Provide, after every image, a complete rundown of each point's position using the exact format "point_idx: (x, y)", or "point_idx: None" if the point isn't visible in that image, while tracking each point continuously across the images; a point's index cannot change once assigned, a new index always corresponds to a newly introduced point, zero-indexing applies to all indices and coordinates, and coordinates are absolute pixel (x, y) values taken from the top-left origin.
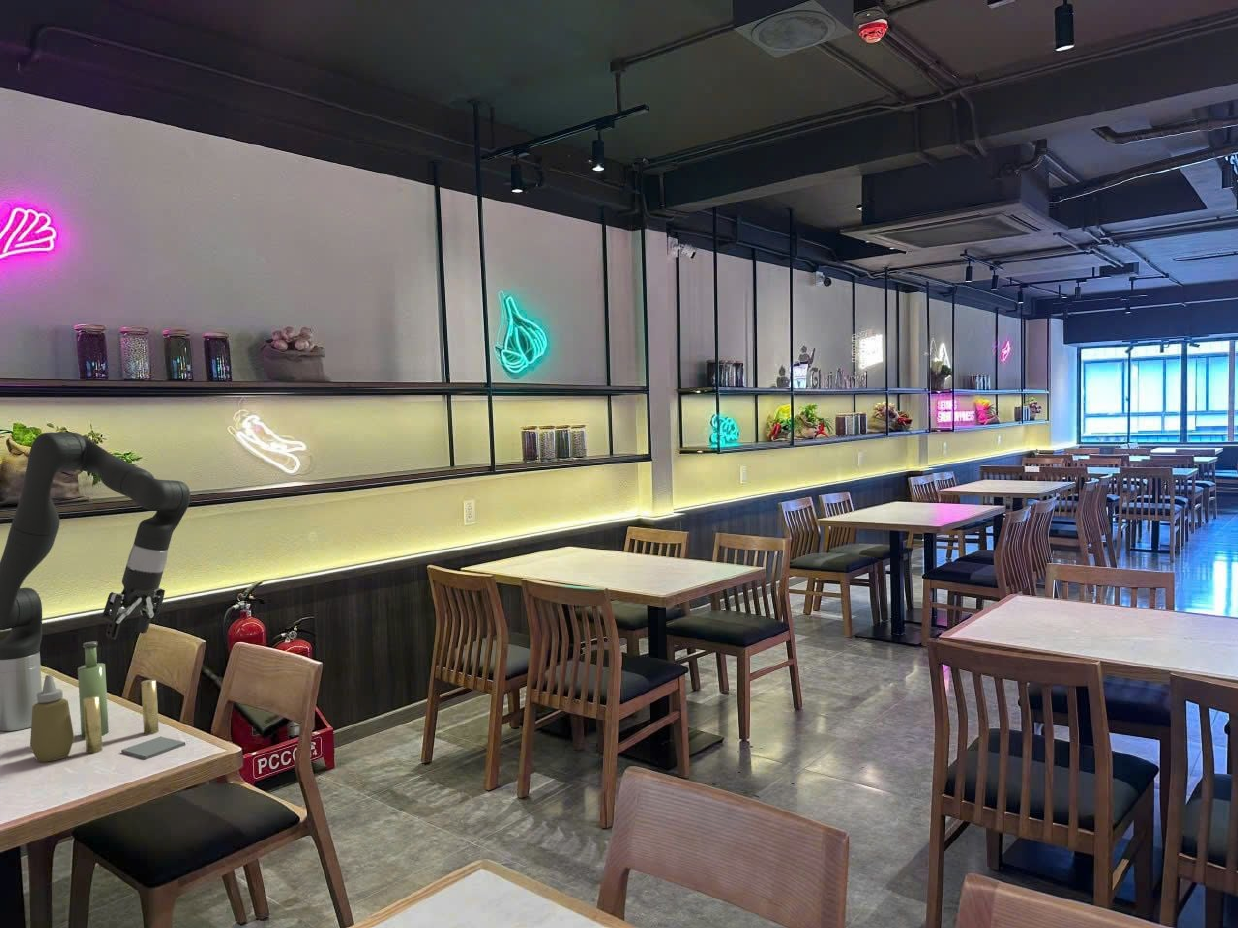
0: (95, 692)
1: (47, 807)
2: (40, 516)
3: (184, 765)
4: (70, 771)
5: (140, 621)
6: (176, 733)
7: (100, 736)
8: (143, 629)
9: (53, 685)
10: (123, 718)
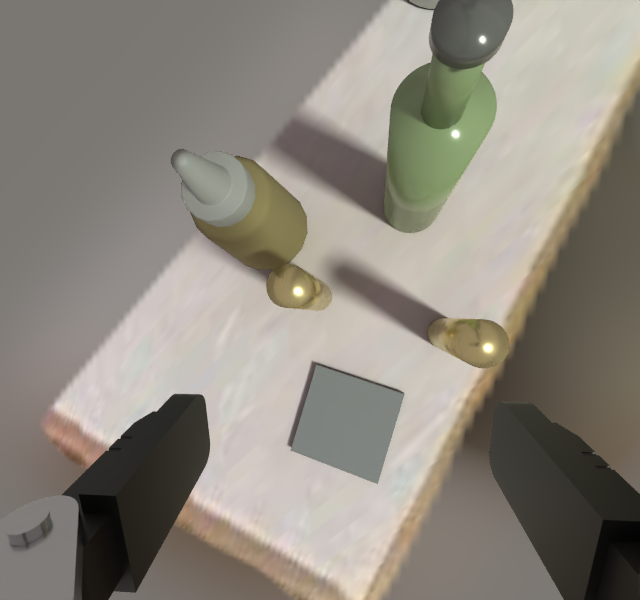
0: (403, 190)
1: (92, 428)
2: None
3: (273, 556)
4: (221, 337)
5: (550, 483)
6: (443, 405)
7: (315, 309)
8: (505, 482)
9: (202, 192)
10: (525, 179)
